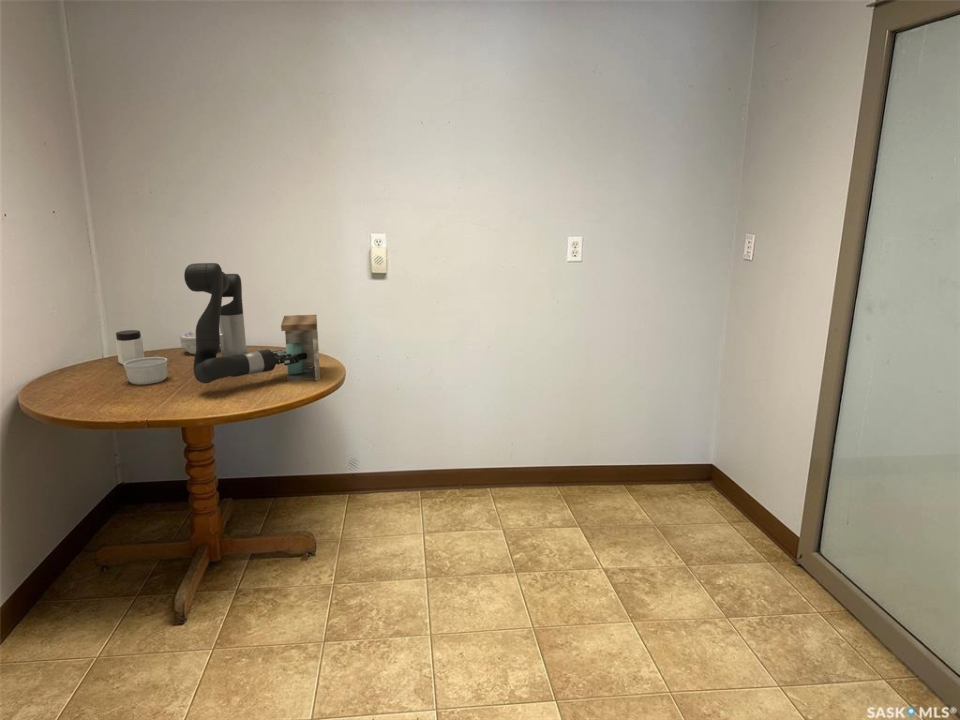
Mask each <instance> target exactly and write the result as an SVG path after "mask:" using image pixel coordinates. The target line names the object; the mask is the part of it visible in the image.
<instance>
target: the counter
mask: <svg viewBox="0 0 960 720" xmlns="http://www.w3.org/2000/svg"><path fill="white" fill-rule="evenodd" d="M317 315H318V314H300V315H299V314H297V315H294V314H293V315H283V318H282V321H281V325H280V326H281V327H280V329H281V332H284V334H285V337H284V338H285V345H286V344H289V343H303V347H304V353H307V359H304V363H305V369H309V368H308V367H315V368H314V380H316V381H320V380H321V376H320V375H321V373H320V371H321V370H320V368H321V367H320V349H319V334H318V333H319V332H318V318H317Z"/></svg>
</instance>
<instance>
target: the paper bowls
mask: <svg viewBox="0 0 960 720" xmlns="http://www.w3.org/2000/svg"><path fill="white" fill-rule="evenodd" d="M179 337H180V345H181V348H183V349H185V350H186V351H187V352H188V353H189V354H192V355H195V353H196V330H193V331H188V332H187V331H186V332H184V333H181V334H180V336H179Z"/></svg>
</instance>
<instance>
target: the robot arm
mask: <svg viewBox="0 0 960 720" xmlns="http://www.w3.org/2000/svg"><path fill="white" fill-rule="evenodd" d="M183 276H184V283H185V284H186V287H187V288H188V289H189V290H191V291H192V292H197V293H201V292H203V293H207V294H209V295H211V296H210V300H209V302H208V304H207V305H206V307H205V309H204V311H203V312H202V314H201V315H200V317H199V318H198V320H197V323H196V326H195V331H196V353H195V354H194V359H193V360H194V361H193V376H194V378H195V379H196V380H197V381H198V382H199V383H201V384H209V383H212V382H214V381H216V380H220V379H223V378H228V377H231V378H236V377H241V376H247V375H255V374H262V373H266V372H271V371H273V370H274V369H275V367H276V366H277V365H278V366H282V365H283V366H285V367H287V365H291V364H295V363H299V360H303V359H307V353H300V354H290V353H286V350H282V349H280V350H274V351H271V350H270V349H268V348H267V349H261V350H256V351H250V352H248V351H247V340H246V329H245V317H244V307H243V290H242V289H243V288H242V287H243V286H242V279H241V276H240V274H238V273H225V272H224V271H223V269H222V267H221V265H220V264H219V263H217V262H201V263H200V262H199V263H190V264H189V265H187V266H186V267H185V269H184V274H183ZM223 298H232V301H230V302H228V303H227V304H223V305H222V303H223V302H222V300H223ZM219 350H220V351H221V352H220V355H221V356H219V357H218V356H217V355H218V353H219ZM287 356H288V357H287Z"/></svg>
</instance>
